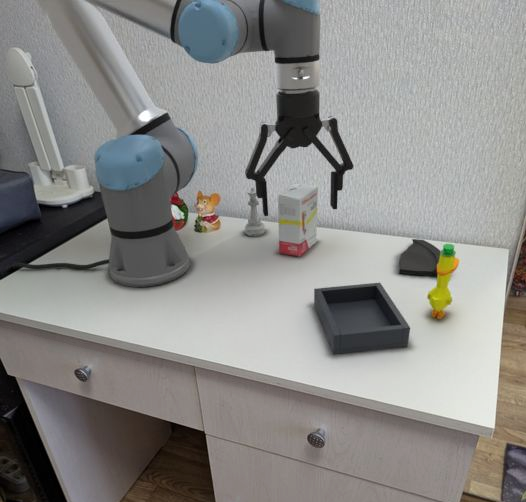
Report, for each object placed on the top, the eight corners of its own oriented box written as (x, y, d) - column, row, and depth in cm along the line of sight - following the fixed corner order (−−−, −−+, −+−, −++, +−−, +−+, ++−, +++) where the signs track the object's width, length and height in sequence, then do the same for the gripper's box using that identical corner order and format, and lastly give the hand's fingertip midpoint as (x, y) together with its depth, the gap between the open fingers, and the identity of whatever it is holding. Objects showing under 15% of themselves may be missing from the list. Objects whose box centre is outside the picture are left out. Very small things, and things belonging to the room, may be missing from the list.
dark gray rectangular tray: (333, 354, 71) (333, 335, 69) (313, 306, 82) (314, 288, 80) (407, 346, 71) (410, 327, 69) (378, 299, 83) (380, 282, 81)
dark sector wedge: (445, 248, 98) (446, 240, 97) (445, 278, 88) (446, 270, 87) (402, 244, 100) (403, 237, 99) (397, 274, 90) (398, 266, 89)
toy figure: (435, 302, 81) (448, 233, 74) (457, 308, 79) (472, 238, 72) (419, 320, 77) (430, 249, 70) (441, 327, 75) (455, 254, 68)
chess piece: (248, 228, 112) (245, 183, 106) (267, 229, 110) (265, 184, 105) (242, 235, 108) (239, 190, 102) (261, 237, 107) (259, 191, 101)
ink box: (299, 257, 98) (299, 198, 91) (278, 253, 100) (276, 195, 93) (317, 241, 104) (319, 185, 97) (296, 238, 106) (296, 182, 99)
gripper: (226, 99, 81) (238, 223, 93) (374, 86, 82) (367, 210, 95) (224, 92, 87) (235, 210, 99) (362, 81, 89) (356, 198, 101)
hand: (299, 210), depth 97 cm, fingers open, 13 cm apart
